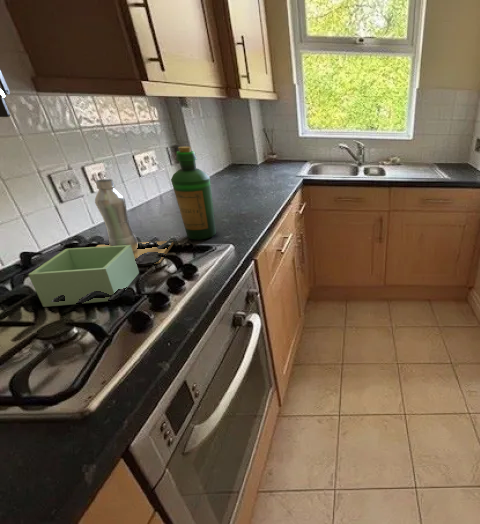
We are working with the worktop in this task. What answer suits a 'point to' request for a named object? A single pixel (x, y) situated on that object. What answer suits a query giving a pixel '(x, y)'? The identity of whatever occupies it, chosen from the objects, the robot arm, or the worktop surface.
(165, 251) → the board
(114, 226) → the plastic bottle
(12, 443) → the worktop surface
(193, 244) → the worktop surface
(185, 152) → the bottle
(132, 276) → the bin
